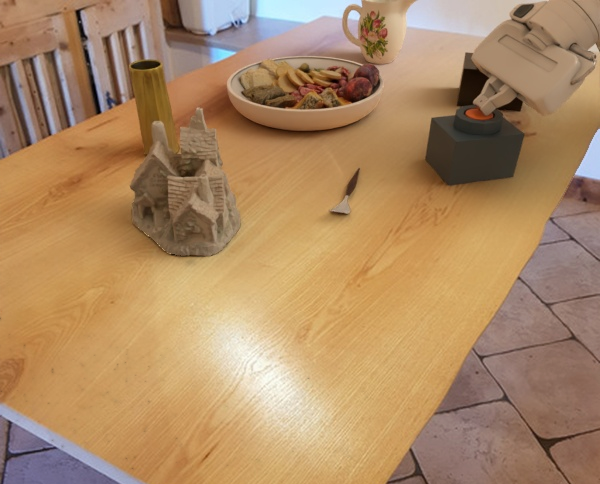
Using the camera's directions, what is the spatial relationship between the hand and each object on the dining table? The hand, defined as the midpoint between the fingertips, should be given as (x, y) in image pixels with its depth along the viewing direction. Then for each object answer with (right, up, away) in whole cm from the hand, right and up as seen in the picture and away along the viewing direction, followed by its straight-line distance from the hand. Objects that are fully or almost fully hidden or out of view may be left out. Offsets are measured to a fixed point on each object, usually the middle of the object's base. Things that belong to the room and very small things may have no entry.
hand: (479, 109), depth 82 cm
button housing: (0, -7, +6) cm, 10 cm away
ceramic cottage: (-43, -18, -5) cm, 47 cm away
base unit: (+11, +12, +28) cm, 33 cm away
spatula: (-20, -13, 0) cm, 24 cm away
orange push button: (0, -2, +2) cm, 2 cm away
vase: (-51, -3, +12) cm, 52 cm away
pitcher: (-9, +29, +48) cm, 57 cm away
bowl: (-26, +10, +27) cm, 38 cm away
